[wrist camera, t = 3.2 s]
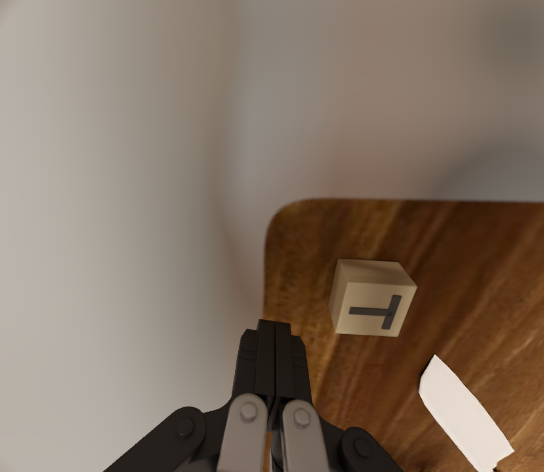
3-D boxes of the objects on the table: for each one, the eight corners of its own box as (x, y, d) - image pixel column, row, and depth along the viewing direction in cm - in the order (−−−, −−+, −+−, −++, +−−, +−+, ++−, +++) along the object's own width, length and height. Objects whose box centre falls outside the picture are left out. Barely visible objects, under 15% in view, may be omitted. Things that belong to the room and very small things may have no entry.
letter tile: (327, 305, 19) (335, 335, 16) (337, 257, 17) (347, 283, 15) (382, 308, 19) (398, 338, 17) (398, 261, 17) (419, 287, 15)
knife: (462, 349, 20) (406, 379, 21) (548, 511, 32) (511, 526, 33) (450, 337, 21) (397, 366, 22) (537, 497, 33) (501, 513, 34)
